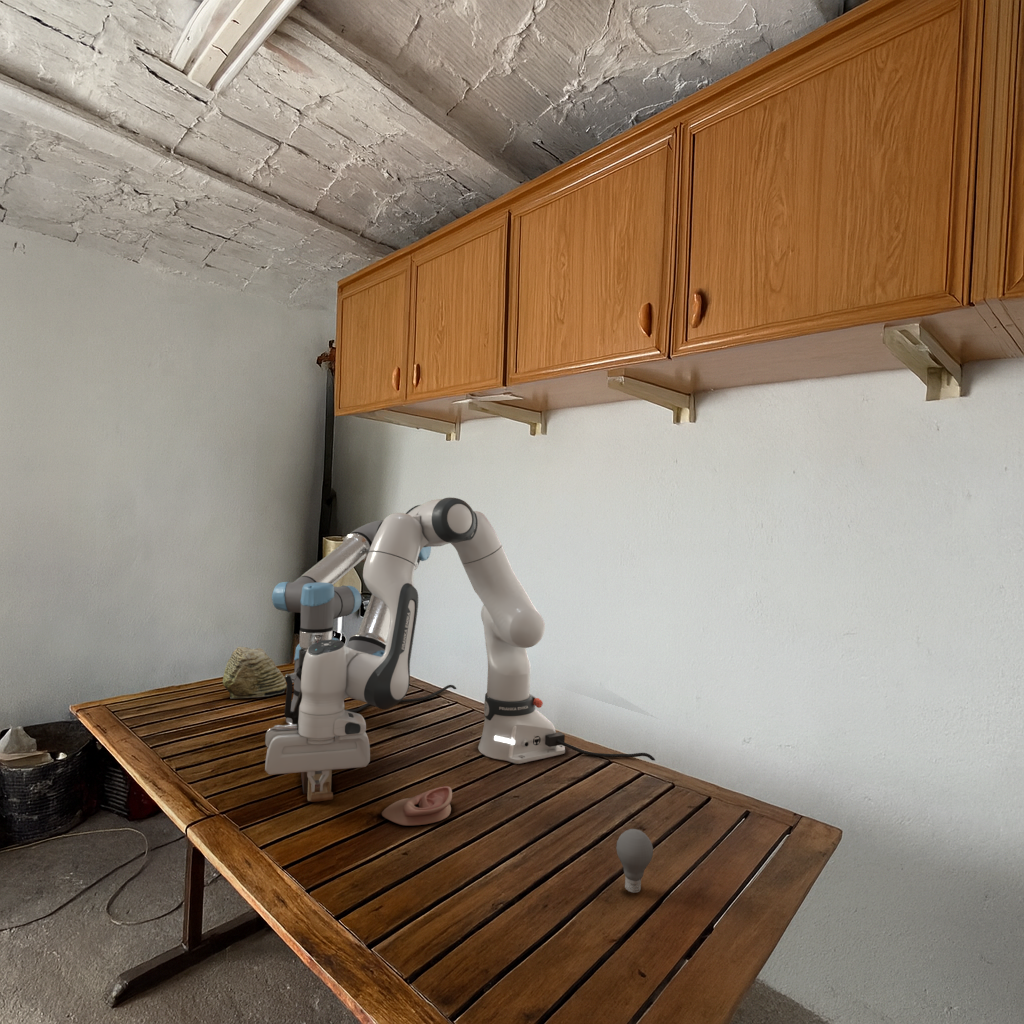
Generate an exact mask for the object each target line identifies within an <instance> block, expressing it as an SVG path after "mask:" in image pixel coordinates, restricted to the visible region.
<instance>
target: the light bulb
mask: <svg viewBox="0 0 1024 1024" xmlns="http://www.w3.org/2000/svg"><path fill="white" fill-rule="evenodd" d="M615 849H616V854H617V857H618V859H619V861H620V863H621V865H622V867H623V873H624V874H623V875H624V876H625V878H624V888H625V890H627V891H628V892H630V893H634V894H635V893H639V892H640V891H641V889H642V887H641V886H642V879H643V877H644V875H645V871H646V868H647V867H648V866H649V864H650V863H651V861H652V859H653V855H654V847H653V843H652V841H651V838H649V836H648V835H647V834H646V833H645V832H643V831H642V830H641V829H636V828H629V829H627V830H625V831H623V832H622V833H621V834H620V835H619V837H618V839H617V841H616V847H615Z"/></svg>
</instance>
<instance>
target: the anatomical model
mask: <svg viewBox="0 0 1024 1024" xmlns="http://www.w3.org/2000/svg"><path fill="white" fill-rule="evenodd" d="M452 799H453V789H452V787H450V786H448V785H445V786H440V787H436V788H432V789H430V790H426V791H424V792H422V793H419V794H416V795H415V796H412V797H408V798H402V799H399V800H396V801H395V802H393V803H391V804H390V805H388V806H387V807H386V808H384V809H383V810H382V812H381V816H382V817H383V818H384V819H386V820H388V821H390V822H392V823H395V824H397V825H400V826H406V827H407V826H408V827H409V826H421V825H428V824H434V823H438V822H440V821H443V820H445V819H446V818H448V817H449V816H450V815H451V812H452V807H451V802H452Z"/></svg>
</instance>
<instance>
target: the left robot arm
mask: <svg viewBox="0 0 1024 1024" xmlns="http://www.w3.org/2000/svg"><path fill="white" fill-rule="evenodd" d="M383 521H384V519H380V520H374V521H371V522H368V523H365V524H364V525H361V526H359V527H357V528H355V529H354V530H352V531H351V532H350V533H348V534H347V535H346V536H344V538H343V540H342V543H341V544H340V545H338V546H337V547H335V549H333V550H332V551H331V552H330V553H328V554H327V555H326V556H325V557H323V558H322V559H321V560H319V561H318V562H317V563H316V564H314V565H313V566H312V567H311V568H309V569H308V570H307V571H305V572H304V573H303V574H301V576H299V577H298V578H296V579H295V580H294V581H293V582H291V581H282V582H281V581H280V582H279V583H277V584H276V585H275V586H274V588H273V590H272V594H271V600H272V606H273V607H274V608H275V609H276V610H278V611H281V612H288V613H297V614H298V613H299V614H300V626H299V643H298V644H297V645H296V647H295V652H294V653H295V654H294V659H293V660H294V672H291V673H286V674H285V676H284V677H285V680H286V685H287V687H286V690H285V700H284V701H285V702H284V718H285V725H288V724H298V719H299V706H300V703H301V700H302V692H301V674H302V667H303V661H304V657H305V654H306V651H307V649H308V648H309V646H311V645H312V644H314V643H316V642H318V641H322V640H339V641H340V639H339V638H337V637H333V632H334V631H333V630H334V629H333V628H334V620H335V619H339V618H343V617H348V616H350V615H352V614H355V613H356V612H357V611H358V610H359V609H360V608H361V605H362V595H361V592H360V590H359V589H357V588H356V587H355V586H352V585H341V586H334V585H335V584H336V583H337V582H338V581H340V580H341V579H342V578H343V577H344V576H346V574H348V573H349V572H350V571H351V570H352V569H353V568H355V567H356V566H357V565H358V564H359V563H365V561H366V558H367V555H368V553H369V550H370V547H371V544H372V542H373V540H374V537H375V535H376V533H377V531H378V529H379V528H380V526H381V524H382V522H383ZM431 551H432V547H423V548H422V549H421V551H420V553H419V556H418V560H417V563H416V567H415V570H414V571H416V570H417V569H418V567H419V565H420V562H425V561H427V560H428V559H429V558H430V555H431ZM389 625H390V612H389V609H388V607H387V606H386V605H385V604H384V603H383V602H382V601H381V600H380V599H378V598H377V597H376V596H374V595H373V594H372V593H371V596H370V598H369V601H368V604H367V607H366V609H365V612H364V615H363V617H362V620H361V623H360V626H359V629H358V631H357V633H355V634H353V635H351V636H350V637H349V639H348V641H347V644H346V646H347V647H348V648H350V649H353V650H356V651H360V652H364V653H368V654H371V655H375V656H380V657H382V656H383V654H384V652H385V648H386V642H387V637H388V631H389ZM450 688H452V689H453V690H457V689H458V688H457V687H456V686H455V685H453V684H448V685H446V686H444V687H443V688H441V689H439V690H437V691H434V692H432V693H430V694H428V695H426V696H425V695H424V696H421V697H415V698H414V697H413V698H403V699H402V700H401V701H400V702H399V703H398V704H400V703H401V704H402V703H403V704H404V703H412V702H420V701H425V700H428V699H431V698H432V697H433V698H434V696H437V695H439V694H441V693H443V692H444V691H446V690H447V689H450ZM369 706H371V705H370V704H368V703H366V702H365V703H364V704H363V705H361V706H359V707H357V708H354V709H353V708H352V709H346V710H347V711H350V712H354V713H357V712H360V711H362V710H364V709H366V708H367V707H369ZM297 730H298V729H297Z"/></svg>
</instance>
